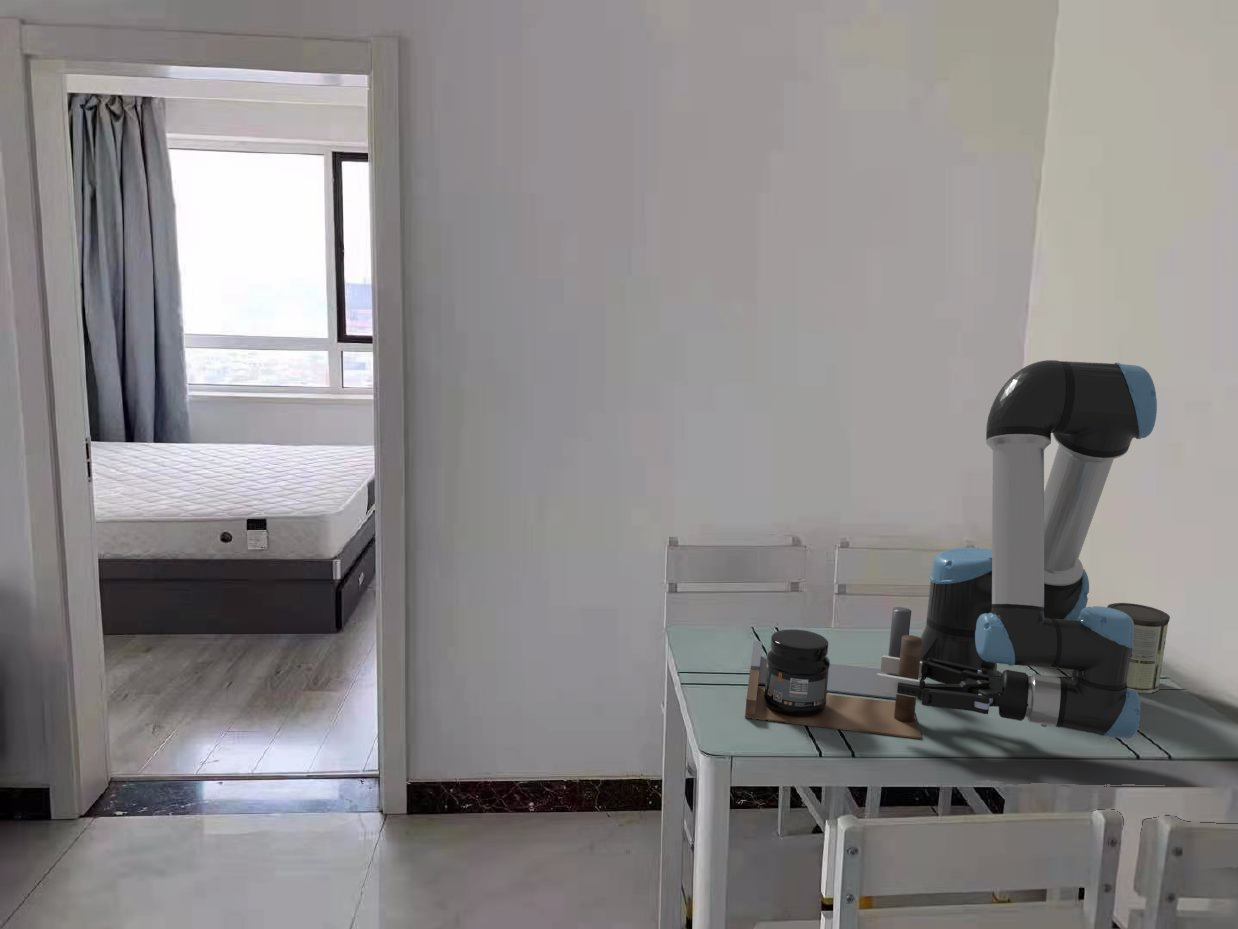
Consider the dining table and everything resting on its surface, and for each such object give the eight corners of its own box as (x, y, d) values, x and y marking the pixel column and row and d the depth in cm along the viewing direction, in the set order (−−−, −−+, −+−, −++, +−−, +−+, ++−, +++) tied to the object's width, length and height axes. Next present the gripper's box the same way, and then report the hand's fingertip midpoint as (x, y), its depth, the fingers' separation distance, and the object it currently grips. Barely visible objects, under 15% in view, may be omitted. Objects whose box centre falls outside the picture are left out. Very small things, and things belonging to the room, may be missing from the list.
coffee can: (1088, 670, 183) (1098, 600, 181) (1144, 674, 182) (1154, 604, 180) (1110, 691, 173) (1121, 618, 170) (1169, 696, 172) (1180, 622, 170)
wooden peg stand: (911, 705, 163) (919, 626, 160) (921, 739, 150) (930, 654, 148) (749, 687, 168) (754, 610, 165) (745, 718, 155) (750, 635, 153)
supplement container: (797, 689, 167) (802, 624, 165) (839, 712, 158) (845, 644, 156) (750, 699, 162) (755, 633, 160) (790, 724, 153) (796, 654, 151)
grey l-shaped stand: (902, 672, 177) (909, 600, 175) (910, 700, 165) (918, 622, 162) (752, 656, 182) (757, 585, 180) (749, 683, 170) (754, 607, 167)
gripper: (1028, 747, 140) (870, 718, 147) (1021, 695, 159) (882, 671, 167) (1034, 700, 138) (874, 673, 146) (1026, 653, 158) (886, 631, 165)
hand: (879, 672), depth 156 cm, fingers open, 8 cm apart
